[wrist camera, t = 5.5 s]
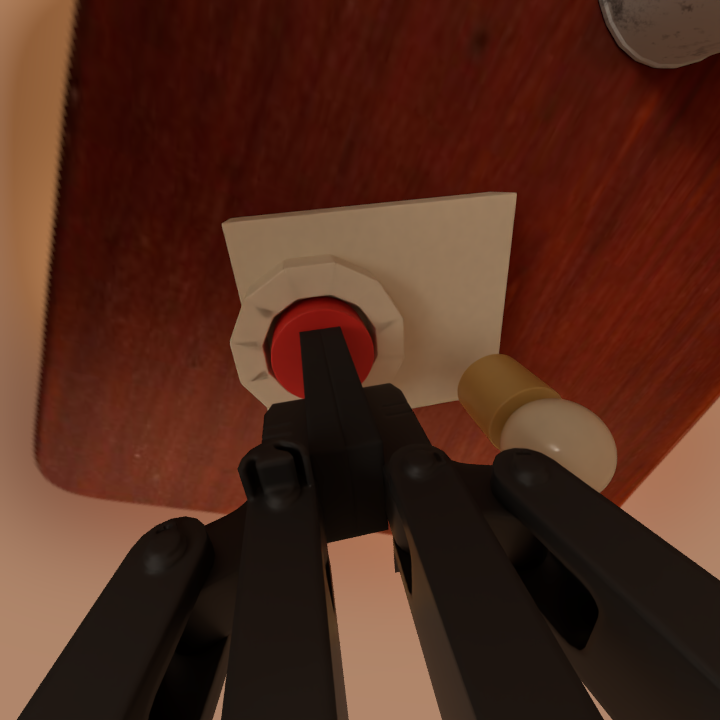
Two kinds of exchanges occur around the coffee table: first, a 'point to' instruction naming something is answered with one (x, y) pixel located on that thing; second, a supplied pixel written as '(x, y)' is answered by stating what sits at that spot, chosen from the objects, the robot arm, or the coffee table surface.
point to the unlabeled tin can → (664, 30)
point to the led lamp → (536, 418)
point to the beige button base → (379, 285)
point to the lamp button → (314, 317)
